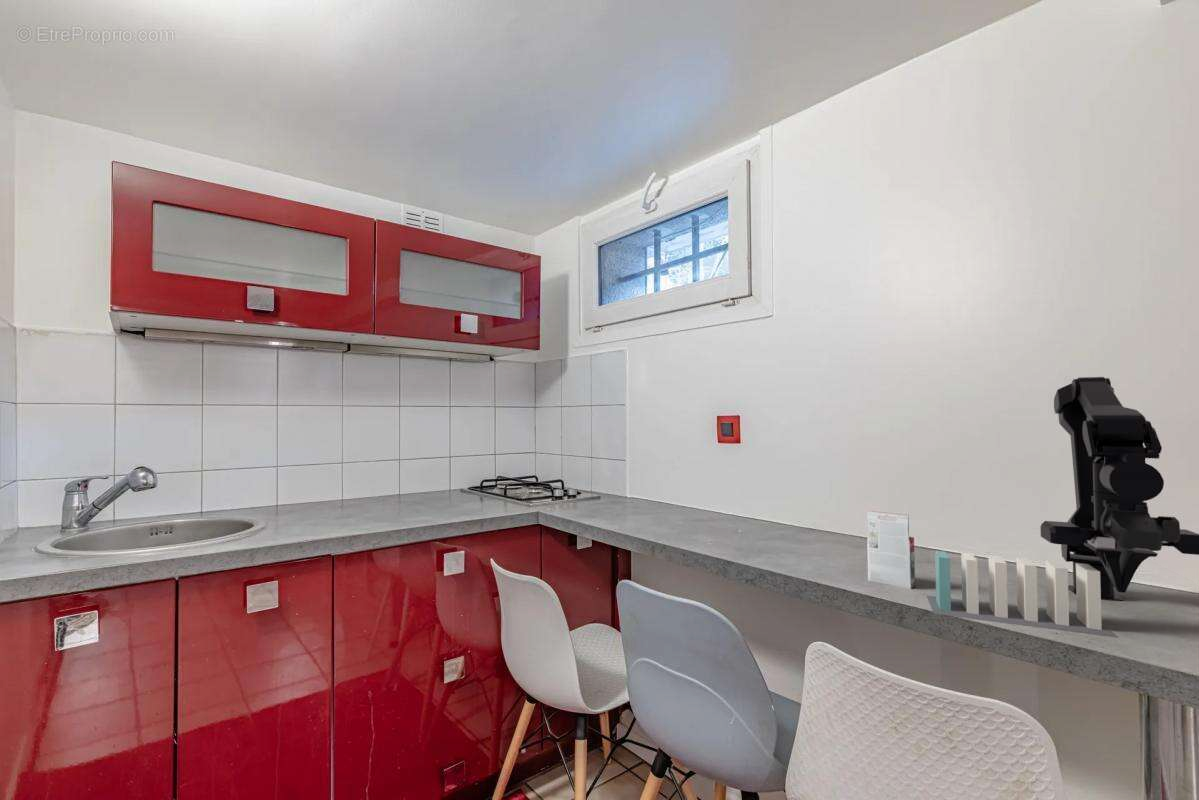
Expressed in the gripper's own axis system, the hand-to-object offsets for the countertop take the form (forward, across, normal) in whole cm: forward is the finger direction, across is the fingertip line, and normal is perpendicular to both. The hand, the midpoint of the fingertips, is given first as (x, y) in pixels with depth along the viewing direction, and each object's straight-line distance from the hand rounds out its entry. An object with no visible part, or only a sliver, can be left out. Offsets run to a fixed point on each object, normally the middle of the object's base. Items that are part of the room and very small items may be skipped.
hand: (1120, 591), depth 86 cm
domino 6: (+6, -4, 0) cm, 7 cm away
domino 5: (+6, -8, 0) cm, 10 cm away
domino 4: (+6, -12, 0) cm, 13 cm away
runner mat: (+6, -14, 0) cm, 15 cm away
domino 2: (+6, -20, 0) cm, 21 cm away
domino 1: (+6, -24, 0) cm, 25 cm away
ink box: (+6, -31, +11) cm, 34 cm away
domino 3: (+6, -16, 0) cm, 17 cm away
